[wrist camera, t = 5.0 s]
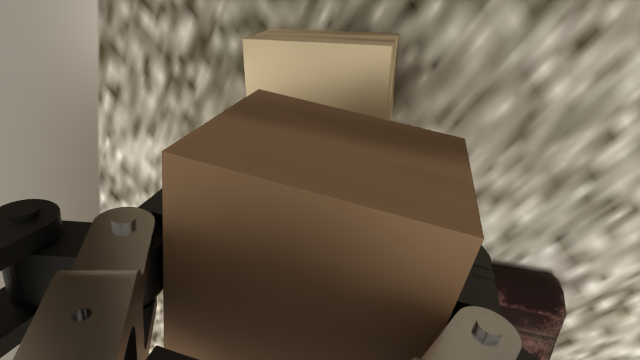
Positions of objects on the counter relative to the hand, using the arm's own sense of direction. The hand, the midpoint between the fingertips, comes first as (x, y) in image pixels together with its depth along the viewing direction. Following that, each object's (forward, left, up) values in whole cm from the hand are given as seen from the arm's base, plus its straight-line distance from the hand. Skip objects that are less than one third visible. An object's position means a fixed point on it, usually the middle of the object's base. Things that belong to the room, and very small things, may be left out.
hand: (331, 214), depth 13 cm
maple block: (+1, -3, -16) cm, 17 cm away
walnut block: (0, 0, -1) cm, 1 cm away
